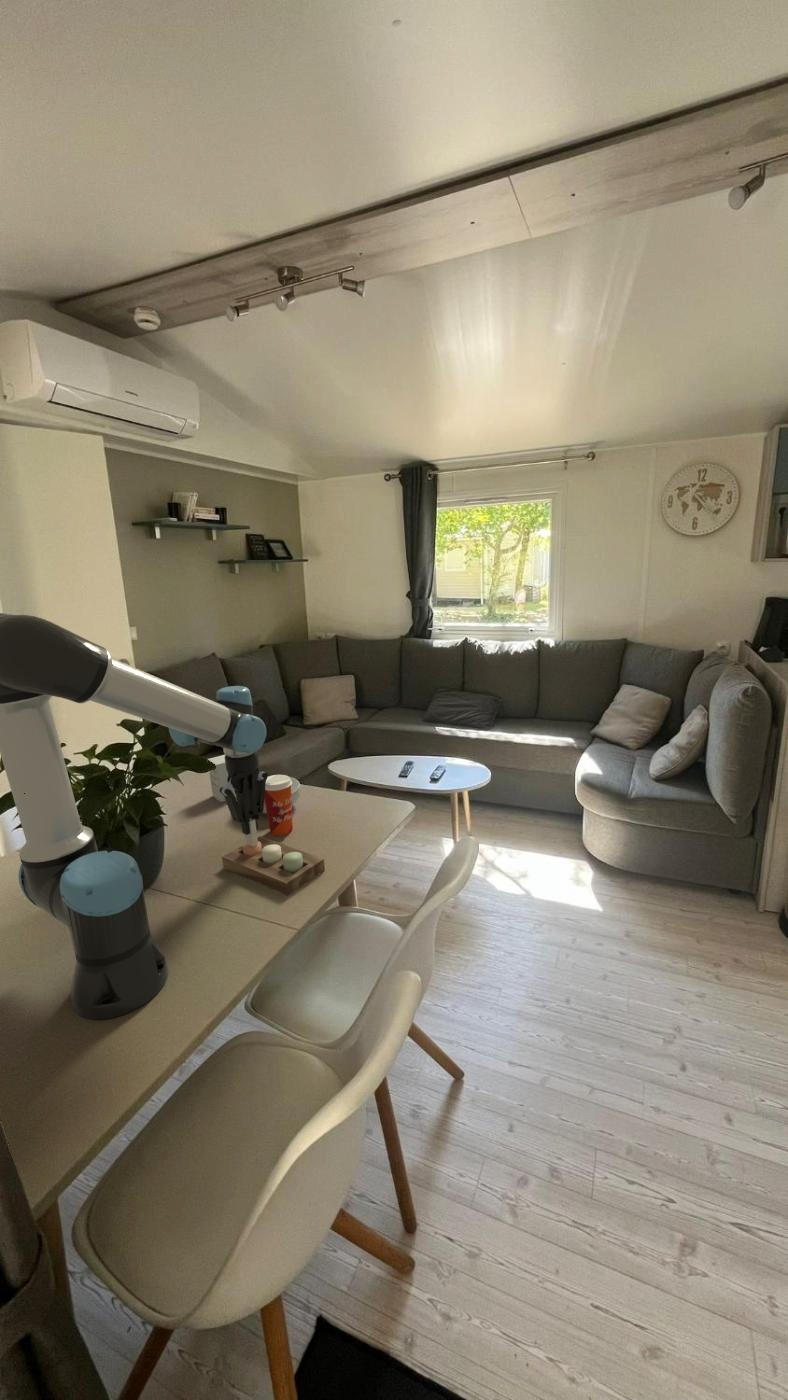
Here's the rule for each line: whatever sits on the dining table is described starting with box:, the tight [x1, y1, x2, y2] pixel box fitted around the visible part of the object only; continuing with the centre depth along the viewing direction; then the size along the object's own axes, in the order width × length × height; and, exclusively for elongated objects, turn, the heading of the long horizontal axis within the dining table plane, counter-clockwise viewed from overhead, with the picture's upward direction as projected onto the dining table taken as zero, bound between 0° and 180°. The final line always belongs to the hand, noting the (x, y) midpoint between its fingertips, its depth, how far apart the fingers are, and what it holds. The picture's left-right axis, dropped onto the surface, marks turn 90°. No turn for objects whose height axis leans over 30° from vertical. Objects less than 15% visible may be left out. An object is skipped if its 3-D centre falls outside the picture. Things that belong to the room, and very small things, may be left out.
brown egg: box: [242, 841, 262, 857], centre depth 137 cm, size 4×4×4 cm
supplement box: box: [207, 754, 237, 803], centre depth 177 cm, size 7×7×13 cm
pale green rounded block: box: [283, 852, 303, 874], centre depth 129 cm, size 4×4×4 cm
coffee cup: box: [264, 774, 293, 837], centre depth 151 cm, size 8×8×15 cm
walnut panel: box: [221, 836, 326, 896], centre depth 134 cm, size 12×22×3 cm, turn 54°
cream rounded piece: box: [262, 844, 282, 865], centre depth 133 cm, size 4×4×4 cm
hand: (252, 843), depth 137 cm, fingers closed
